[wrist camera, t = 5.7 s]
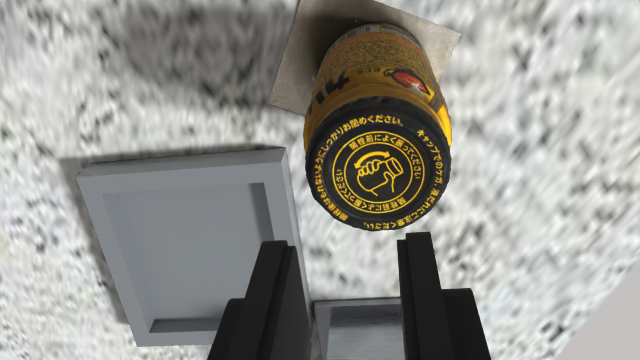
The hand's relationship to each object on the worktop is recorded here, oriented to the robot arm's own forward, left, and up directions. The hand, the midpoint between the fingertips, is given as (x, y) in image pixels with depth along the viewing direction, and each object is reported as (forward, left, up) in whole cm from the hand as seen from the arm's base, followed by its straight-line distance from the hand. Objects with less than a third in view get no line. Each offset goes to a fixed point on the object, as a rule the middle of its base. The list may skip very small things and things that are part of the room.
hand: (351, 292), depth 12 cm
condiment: (0, 0, -19) cm, 19 cm away
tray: (+11, -11, -19) cm, 25 cm away
